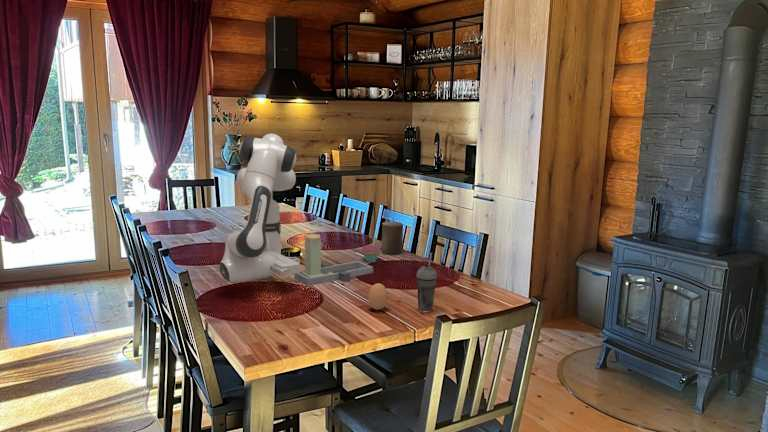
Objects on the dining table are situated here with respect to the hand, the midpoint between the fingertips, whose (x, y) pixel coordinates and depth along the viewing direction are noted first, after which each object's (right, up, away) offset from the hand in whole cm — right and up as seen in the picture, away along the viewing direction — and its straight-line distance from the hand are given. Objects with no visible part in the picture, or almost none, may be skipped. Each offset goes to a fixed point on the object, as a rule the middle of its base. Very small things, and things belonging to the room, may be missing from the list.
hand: (298, 259), depth 217 cm
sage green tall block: (+5, -8, +5) cm, 11 cm away
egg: (+30, -15, -24) cm, 42 cm away
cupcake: (+26, -3, +35) cm, 44 cm away
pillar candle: (+36, 0, +49) cm, 61 cm away
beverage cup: (+46, -15, -24) cm, 54 cm away
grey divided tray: (+13, -7, +11) cm, 18 cm away
